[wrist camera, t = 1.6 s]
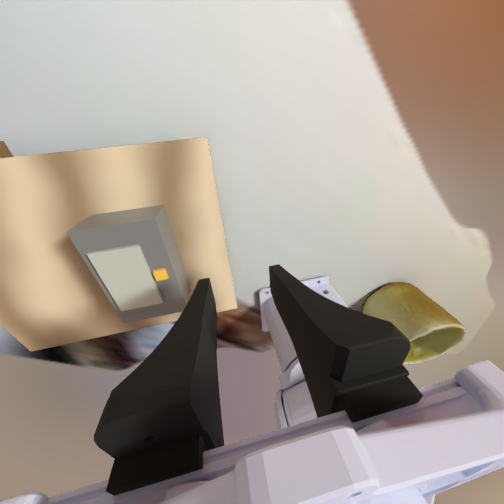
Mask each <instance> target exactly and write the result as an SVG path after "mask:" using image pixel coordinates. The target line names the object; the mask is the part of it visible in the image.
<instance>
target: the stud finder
mask: <svg viewBox="0 0 504 504" xmlns="http://www.w3.org/2000/svg"><path fill="white" fill-rule="evenodd" d="M67 234H68V236H69V237H70V239H71V240H72V242H73V244H74V245H75V247H76V248H77V250H78V252H79V253H80V255H81V256H82V258H83V259H84V261H85V263H86V264H87V266H88V267H89V269H90V271H91V272H92V274H93V275H94V277H95V279H96V280H97V282H98V283H99V285H100V287H101V288H102V290H103V291H104V293H105V294H106V296H107V298H108V299H109V301H110V302H111V304H112V306H113V307H114V309H115V310H116V312H117V314H118V315H119V317H120V318H121V320H122V322H123V323H129V322H134V321H139V320H144V319H148V318H153V317H158V316H163V315H168V314H173V313H177V312H182V311H183V310H184V308H185V307H186V305H187V303H188V301H189V297H190V288H191V287H190V284H189V280H188V277H187V274H186V271H185V268H184V265H183V262H182V259H181V256H180V253H179V250H178V246H177V243H176V240H175V237H174V234H173V231H172V228H171V225H170V222H169V219H168V215H167V212H166V209H165V206H164V205H159V206H152V207H144V208H137V209H130V210H123V211H116V212H109V213H102V214H94V215H91V216H89V217H88V218H86V219H85V220H83V221H82V222H80V223H79V224H77V225H76V226H74V227H73V228H71V229H70V230H69V231H67Z"/></svg>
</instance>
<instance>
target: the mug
mask: <svg viewBox="0 0 504 504" xmlns="http://www.w3.org/2000/svg"><path fill="white" fill-rule="evenodd" d="M362 313H363V314H366V315H369V316H372V317H376V318H379V319H383V320H386V321H389V322H391V323H392V324H394V325H395V326H396V327H397V328H398V329H399V330H400V331H401V332H402V333H403V334H404V335H405V336H406V337H407V338H408V339H409V341H410V345H411V347H410V351H409V353H408V355H407V357H406V359H405V361H404V362H403V364H416V363H420V362H424V361H427V360H430V359H433V358H436V357H438V356H440V355H443V354H445V353H446V352H447V351H448V350H449V349H450V348H452V347H454V346H456V345H457V344H458V343H460V342H461V341H462V340H463V338H464V337H465V334H466V331H465V330H466V328H465V327H464V326H463V325H462V324H461V323H460V322H459V321H458V320H457V319H456V318H454V317H453V316H452V315H451V314H449V313H448V312H447V311H446V310H445V309H443V308H442V307H441V306H440V305H438V304H437V303H436V302H434V301H433V300H432V299H430V298H429V297H428V296H426V295H425V294H424V293H423V292H422V291H421V290H419V289H418V288H417V287H415V286H414V285H412V284H409V283H402V282H397V283H389V284H386V285H385V286H383V287H381V288H380V289H379V290H378V291H376V292H375V293H373V294H372V295H371V296H370V297H368V299H367V300H366V302H365V304H364V306H363V310H362Z"/></svg>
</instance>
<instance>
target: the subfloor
mask: <svg viewBox="0 0 504 504" xmlns="http://www.w3.org/2000/svg"><path fill="white" fill-rule="evenodd" d="M159 205H164V206H165V209H166V212H167V215H168V219H169V222H170V225H171V228H172V231H173V234H174V237H175V240H176V243H177V246H178V250H179V253H180V256H181V259H182V262H183V265H184V268H185V271H186V274H187V277H188V280H189V284H190V287H191V288H190V297H191V295H192V293H193V291H194V289H195V287H196V284H197V282H198V280H199V279H205V278H210V282H211V286H212V290H213V294H214V298H215V302H216V311H217V312H221V311H225V310H230V309H235V308H237V303H236V297H235V292H234V286H233V280H232V275H231V269H230V263H229V258H228V252H227V246H226V241H225V235H224V229H223V224H222V218H221V212H220V207H219V201H218V195H217V190H216V184H215V178H214V173H213V167H212V161H211V156H210V150H209V144H208V139H207V137H204V138H194V139H184V140H175V141H165V142H155V143H146V144H136V145H126V146H116V147H106V148H97V149H87V150H77V151H67V152H57V153H48V154H38V155H28V156H18V157H13V155H12V154H11V152H10V151H9V149H8V148H7V146H6V145H5V143H4V141H0V324H1V325H2V326H3V327H4V328H5V329H6V330H7V331H8V332H9V333H11V334H12V335H13V336H14V337H15V338H16V339H17V340H18V341H19V342H21V343H22V344H23V345H24V346H25V347H26V348H27V349H28V350H29V351H36V350H41V349H46V348H50V347H55V346H60V345H65V344H69V343H74V342H79V341H83V340H88V339H93V338H98V337H102V336H107V335H112V334H117V333H121V332H126V331H131V330H135V329H140V328H145V327H150V326H154V325H159V324H164V323H169V322H173V321H177V320H178V318H179V317H180V315H181V313H182V312H183V311H182V312H177V313H173V314H168V315H163V316H158V317H153V318H148V319H144V320H139V321H134V322H129V323H123V322H122V320H121V318H120V317H119V315H118V314H117V312H116V310H115V309H114V307H113V306H112V304H111V302H110V301H109V299H108V298H107V296H106V294H105V293H104V291H103V290H102V288H101V287H100V285H99V283H98V282H97V280H96V279H95V277H94V275H93V274H92V272H91V271H90V269H89V267H88V266H87V264H86V263H85V261H84V259H83V258H82V256H81V255H80V253H79V252H78V250H77V248H76V247H75V245H74V244H73V242H72V240H71V239H70V237H69V236H68V234H67V231H69V230H70V229H71V228H73V227H74V226H76V225H77V224H79V223H80V222H82V221H83V220H85V219H86V218H88V217H89V216H91V215H94V214H102V213H109V212H116V211H123V210H130V209H137V208H144V207H152V206H159ZM190 297H189V299H190Z"/></svg>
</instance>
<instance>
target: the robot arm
mask: <svg viewBox="0 0 504 504" xmlns="http://www.w3.org/2000/svg"><path fill="white" fill-rule="evenodd" d="M269 274H270V288H265V289H261V290H260V291H259V302H260V312H261V323H262V330H263V332H268V331H270V335H271V338H272V341H273V344H274V347H275V350H276V353H277V356H278V359H279V362H280V365H281V368H282V372H283V374H282V375H281V376H279V380H280V384H281V387H282V388H281V389H279V390H278V391H277V393H276V400H275V417H276V422H277V427H278V430H275V431H272V432H269V433H266V434H262V435H259V436H255V437H252V438H248V439H245V440H242V441H238V442H235V443H232V444H228V445H225V446H224V439H223V429H222V419H221V408H220V397H219V386H218V374H217V373H218V372H217V358H216V357H217V356H216V349H217V311H216V302H215V298H214V294H213V290H212V286H211V282H210V278H205V279H199V280H198V282H197V284H196V287H195V289H194V291H193V293H192V295H191V297H190V299H189V301H188V303H187V305H186V307H185V308H184V310H183V312H182V313H181V315H180V317H179V318H178V320H177V321H176V323H175V324H174V326H173V327H172V328H171V330H170V331H169V333H168V334H167V335H166V336H165V338H164V339H163V340H162V341H161V343H160V344H159V345H158V346H157V347H156V348H155V350H154V351H153V352H152V353H151V354H150V355H149V356H148V357H147V358H146V359H145V360H144V361H143V362H142V363H141V364H140V365H139V367H137V368H136V369H135V370H134V371H133V372H132V373H131V374H130V375H129V376H128V377H127V378H126V379H124V380H123V381H122V382H121V383H120V384H119V385H118V386H117V387H116V388H114V389H113V390H112V392H111V394H110V397H109V399H108V401H107V403H106V405H105V408H104V410H103V413H102V416H101V418H100V421H99V424H98V426H97V429H96V432H95V434H94V441H95V443H96V444H97V446H98V447H99V448H101V449H102V450H104V451H105V452H106V453H108V454H109V455H111V456H112V457H113V458H115V460H114V464H113V467H112V471H111V474H110V478H109V480H106V481H103V482H100V483H96V484H93V485H90V486H86V487H83V488H79V489H76V490H73V491H70V492H66V493H62V494H59V495H56V496H52V497H49V498H48V497H47V496H46V495H45V494H42V493H38V492H32V493H25V494H21V495H18V496H14V497H11V498H8V499H4V500H1V501H0V504H433V503H434V497H435V494H437V493H440V492H442V491H445V490H448V489H450V488H452V487H455V486H457V485H460V484H462V483H465V482H467V481H470V480H472V479H475V478H477V477H479V476H482V475H485V474H487V473H490V472H492V471H495V470H498V469H500V468H503V467H504V372H503V371H501V370H500V369H499V368H497V367H496V366H495V365H494V364H492V363H491V362H490V361H488V360H484V361H481V362H477V363H474V364H470V365H467V366H465V367H463V368H461V369H460V370H458V371H457V372H456V374H455V375H454V378H451V379H448V380H445V381H441V382H438V383H435V384H431V385H428V386H424V387H421V388H416V387H415V385H414V384H413V383H412V382H411V380H410V379H409V378H408V377H407V376H408V375H409V372H408V371H407V370H406V368H405V367H404V366H403V365H402V364H403V362H404V361H405V359H406V357H407V355H408V353H409V351H410V347H411V345H410V341H409V339H408V338H407V337H406V336H405V335H404V334H403V333H402V332H401V331H400V330H399V329H398V328H397V327H396V326H395V325H394V324H392V323H391V322H389V321H386V320H383V319H379V318H376V317H372V316H369V315H366V314H363V313H361V312H358V311H355V310H352V309H350V308H349V307H348V306H347V305H346V304H345V303H344V301H343V300H342V299H341V298H340V297H339V295H338V294H337V293H336V292H335V291H334V289H333V288H332V287H331V286H330V285H329V278H328V277H327V276H324V277H319V278H314V279H309V280H304V281H299V280H298V279H296V278H295V277H294V276H292V275H291V274H290V273H288V272H287V271H286V270H285V269H284V268H282V267H281V266H280V265H273V266H269ZM317 281H318V282H317ZM267 291H268V292H267Z"/></svg>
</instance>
